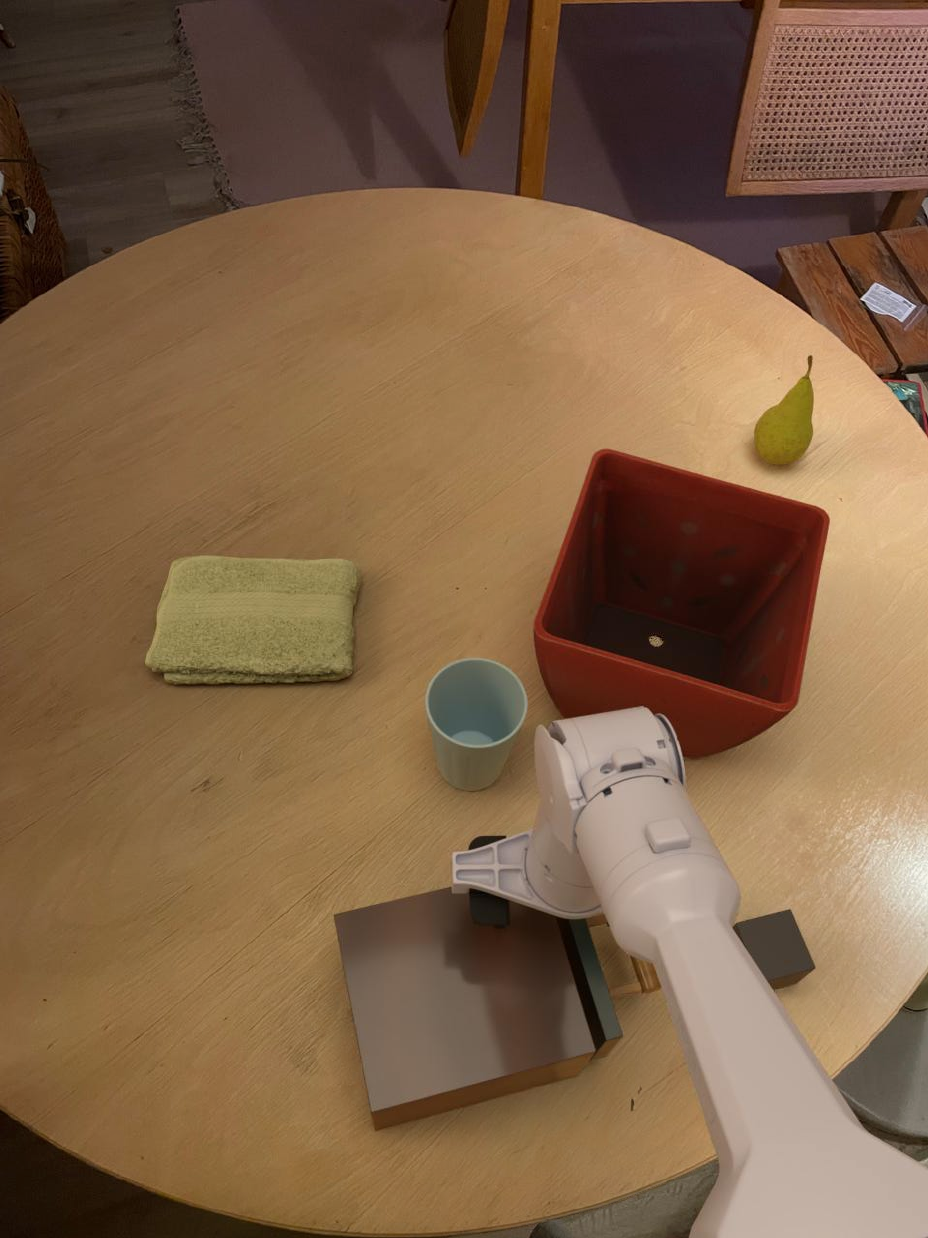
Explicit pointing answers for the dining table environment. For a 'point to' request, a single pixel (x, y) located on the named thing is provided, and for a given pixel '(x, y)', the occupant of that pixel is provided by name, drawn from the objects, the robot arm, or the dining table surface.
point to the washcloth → (255, 620)
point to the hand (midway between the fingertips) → (554, 913)
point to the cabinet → (458, 1004)
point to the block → (776, 948)
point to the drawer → (600, 981)
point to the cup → (474, 720)
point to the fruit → (787, 424)
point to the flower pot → (681, 601)
